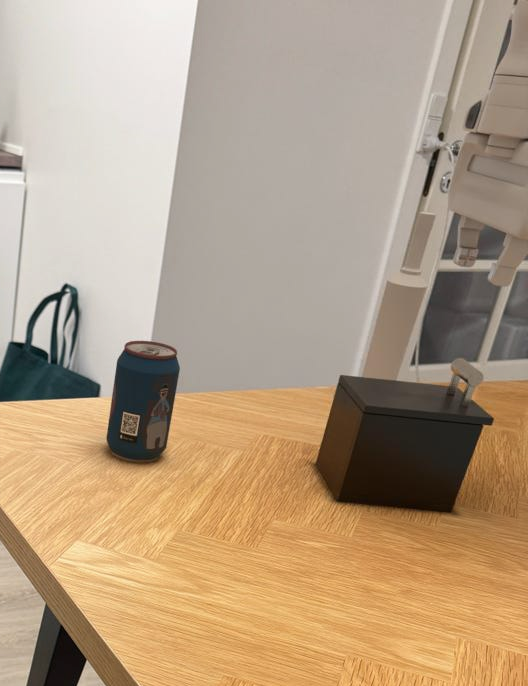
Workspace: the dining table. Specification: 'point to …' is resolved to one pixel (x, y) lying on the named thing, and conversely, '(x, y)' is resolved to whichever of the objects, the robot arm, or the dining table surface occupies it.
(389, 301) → the white round tapered piece
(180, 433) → the dining table surface
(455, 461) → the bin
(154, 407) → the soda can
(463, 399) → the bin lid
